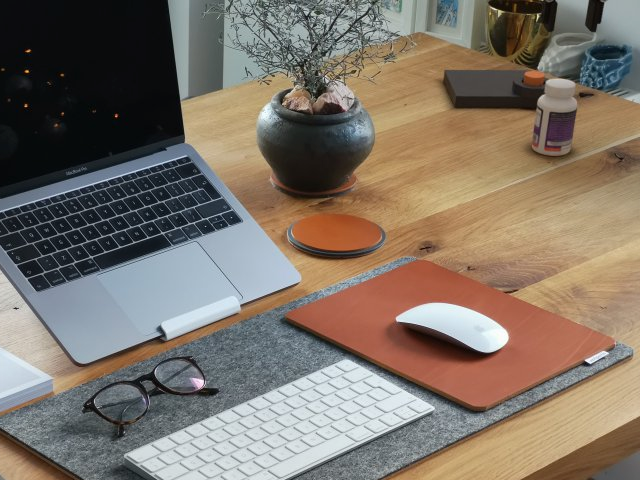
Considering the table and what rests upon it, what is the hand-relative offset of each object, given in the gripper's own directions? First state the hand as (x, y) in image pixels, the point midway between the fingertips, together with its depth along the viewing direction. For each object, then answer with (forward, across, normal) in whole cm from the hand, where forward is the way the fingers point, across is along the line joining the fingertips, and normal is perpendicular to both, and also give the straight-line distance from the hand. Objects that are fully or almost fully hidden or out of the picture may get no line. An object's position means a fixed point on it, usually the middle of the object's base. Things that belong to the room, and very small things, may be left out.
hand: (569, 27), depth 148 cm
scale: (+17, -4, +22) cm, 28 cm away
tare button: (+14, +1, +18) cm, 23 cm away
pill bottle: (+18, 0, 0) cm, 18 cm away
